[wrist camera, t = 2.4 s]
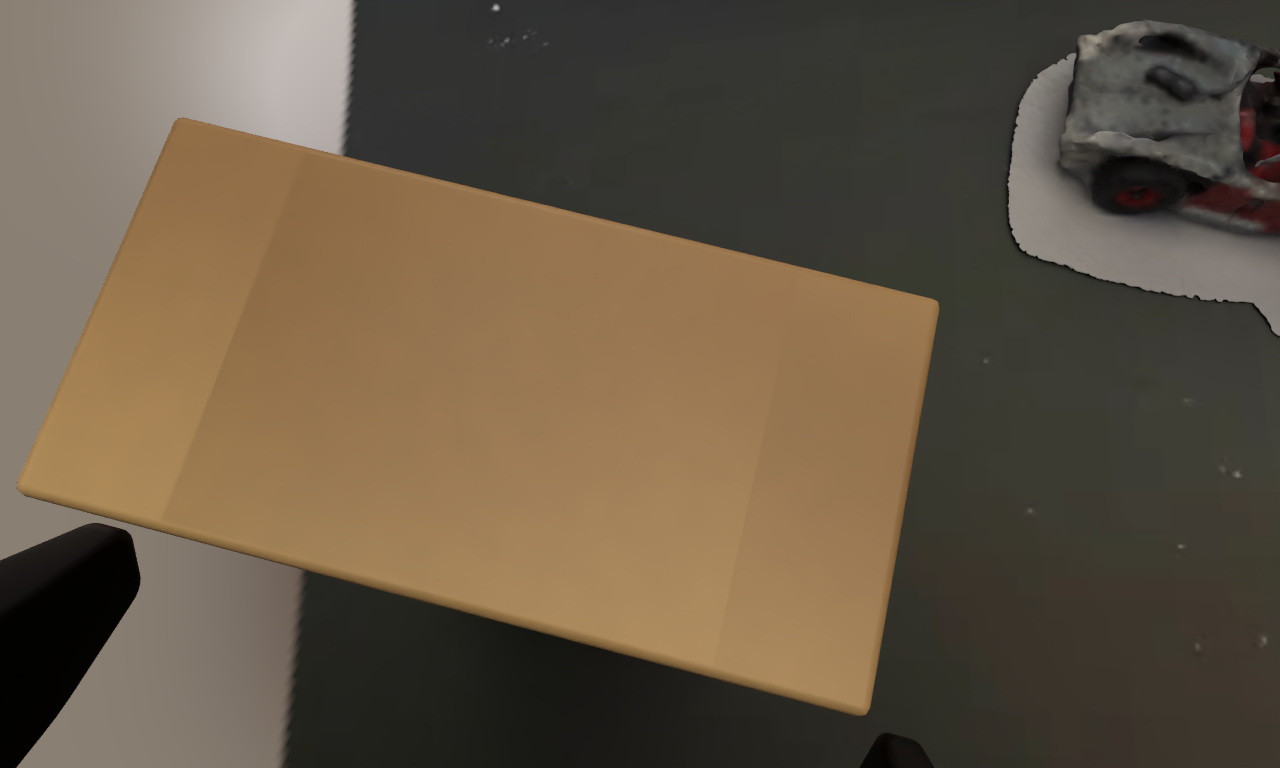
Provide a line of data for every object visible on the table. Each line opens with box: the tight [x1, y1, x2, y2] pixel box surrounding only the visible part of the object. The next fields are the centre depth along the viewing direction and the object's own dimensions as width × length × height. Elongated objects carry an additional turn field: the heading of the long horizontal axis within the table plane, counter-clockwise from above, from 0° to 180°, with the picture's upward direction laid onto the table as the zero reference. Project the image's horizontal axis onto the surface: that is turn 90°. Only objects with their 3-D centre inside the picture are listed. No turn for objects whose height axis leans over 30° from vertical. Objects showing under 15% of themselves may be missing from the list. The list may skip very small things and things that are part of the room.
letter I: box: [17, 118, 939, 716], centre depth 12 cm, size 3×6×14 cm, turn 76°
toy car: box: [1007, 20, 1280, 336], centre depth 20 cm, size 8×12×3 cm
